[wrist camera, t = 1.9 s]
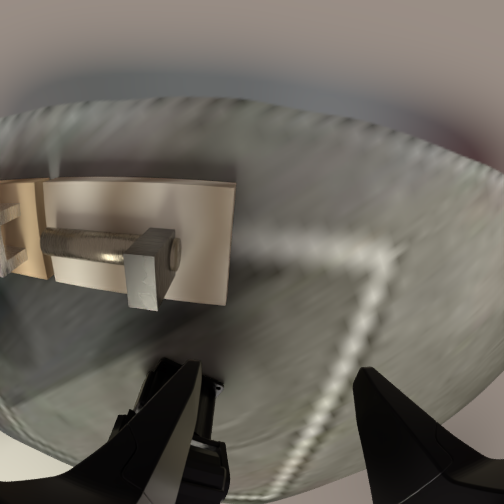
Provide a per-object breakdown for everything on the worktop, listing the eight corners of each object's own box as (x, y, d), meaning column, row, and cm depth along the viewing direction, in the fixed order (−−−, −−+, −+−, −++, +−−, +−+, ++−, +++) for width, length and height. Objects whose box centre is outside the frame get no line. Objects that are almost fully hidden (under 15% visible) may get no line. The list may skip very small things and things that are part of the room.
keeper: (19, 203, 16) (-9, 216, 13) (27, 259, 18) (3, 277, 15) (-1, 203, 16) (-28, 215, 13) (7, 255, 18) (-16, 272, 15)
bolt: (181, 225, 17) (158, 257, 13) (181, 269, 18) (161, 311, 14) (53, 216, 17) (11, 240, 12) (58, 255, 18) (20, 284, 13)
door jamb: (236, 183, 18) (234, 188, 16) (227, 291, 21) (225, 305, 19) (-11, 181, 17) (-25, 186, 16) (0, 258, 20) (-12, 266, 19)
